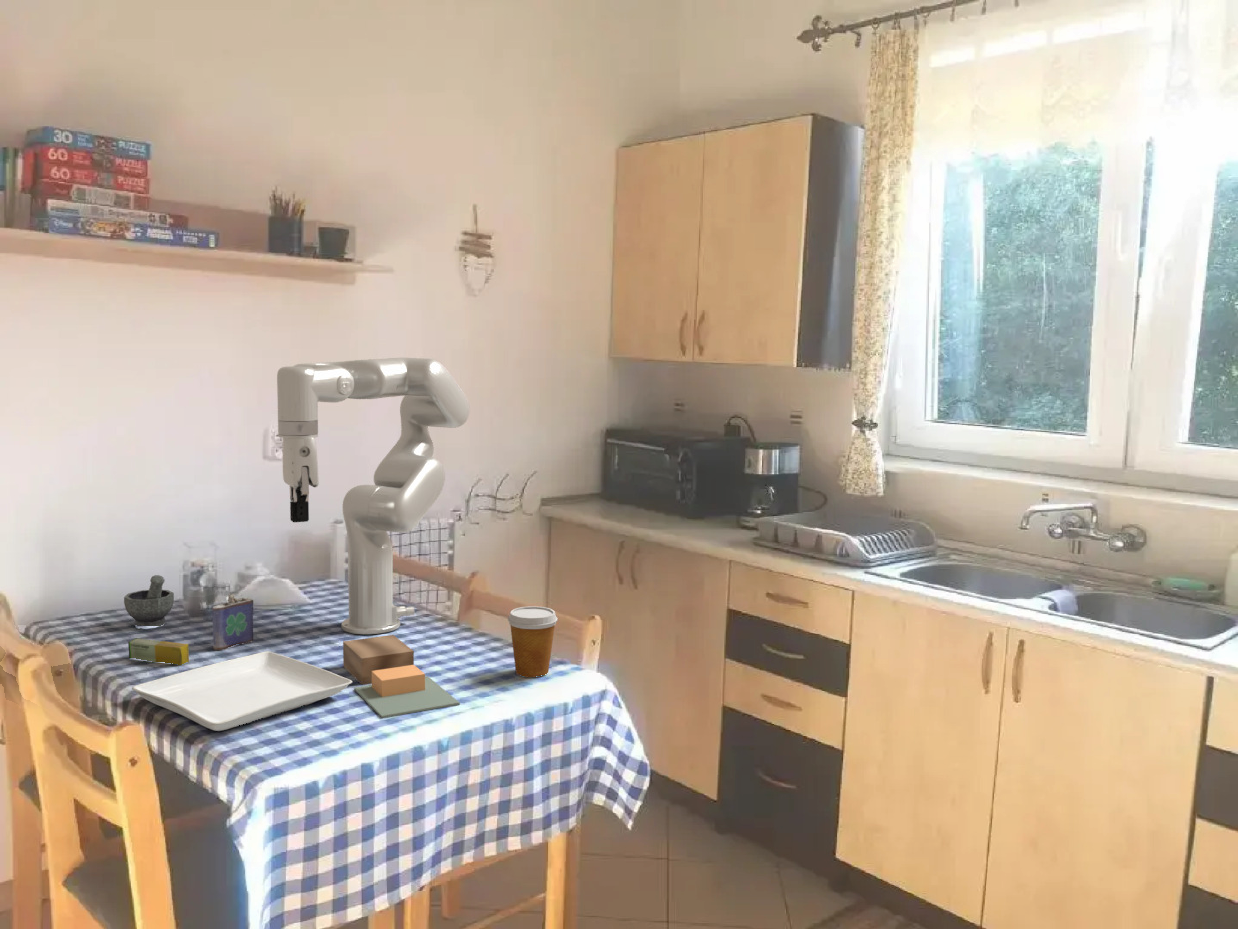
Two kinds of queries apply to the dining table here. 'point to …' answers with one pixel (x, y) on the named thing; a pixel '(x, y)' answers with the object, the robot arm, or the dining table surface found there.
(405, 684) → the orange block
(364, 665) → the walnut block
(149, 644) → the medication box
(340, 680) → the square plate
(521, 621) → the disposable coffee cup
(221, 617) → the flask
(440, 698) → the rubber mat
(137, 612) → the mortar and pestle
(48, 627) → the dining table surface
